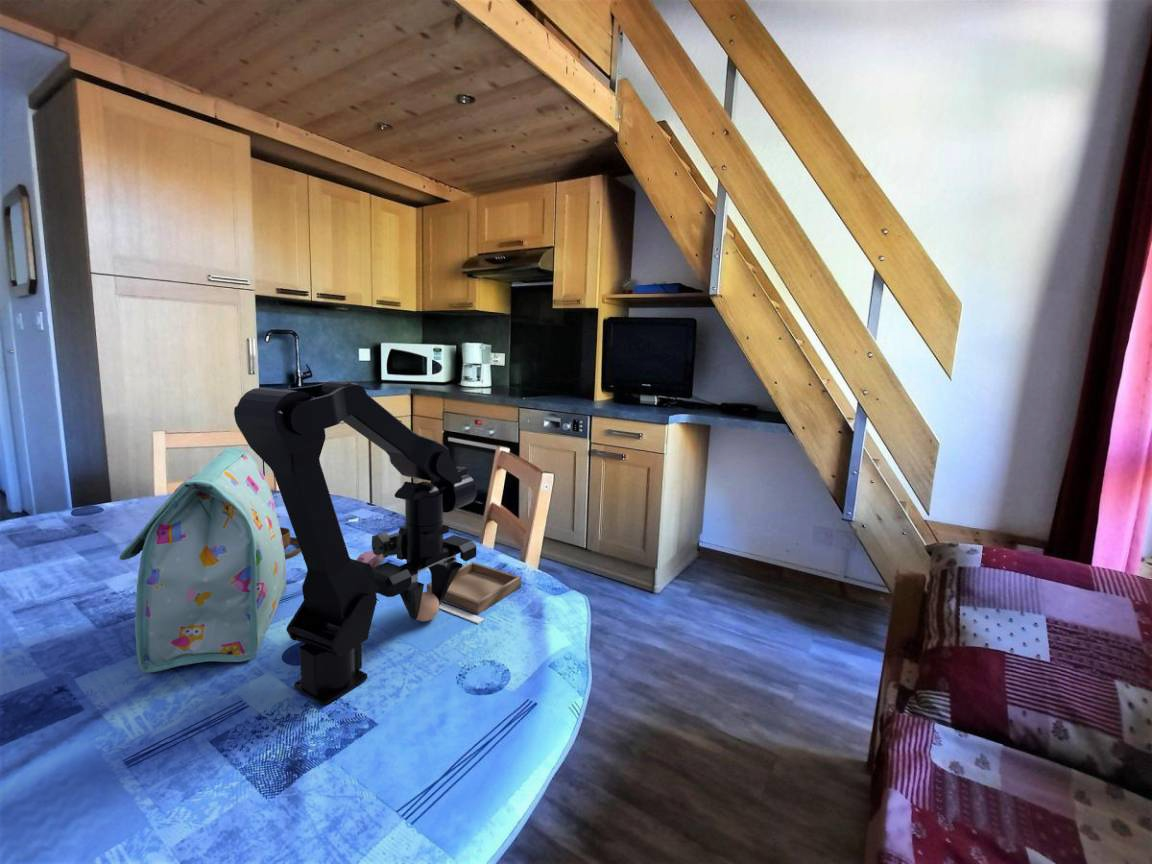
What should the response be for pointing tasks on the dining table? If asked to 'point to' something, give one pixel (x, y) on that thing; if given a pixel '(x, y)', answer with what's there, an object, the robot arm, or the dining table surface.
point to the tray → (479, 587)
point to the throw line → (460, 613)
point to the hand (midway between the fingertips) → (425, 612)
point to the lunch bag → (209, 568)
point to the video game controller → (371, 559)
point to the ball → (428, 607)
